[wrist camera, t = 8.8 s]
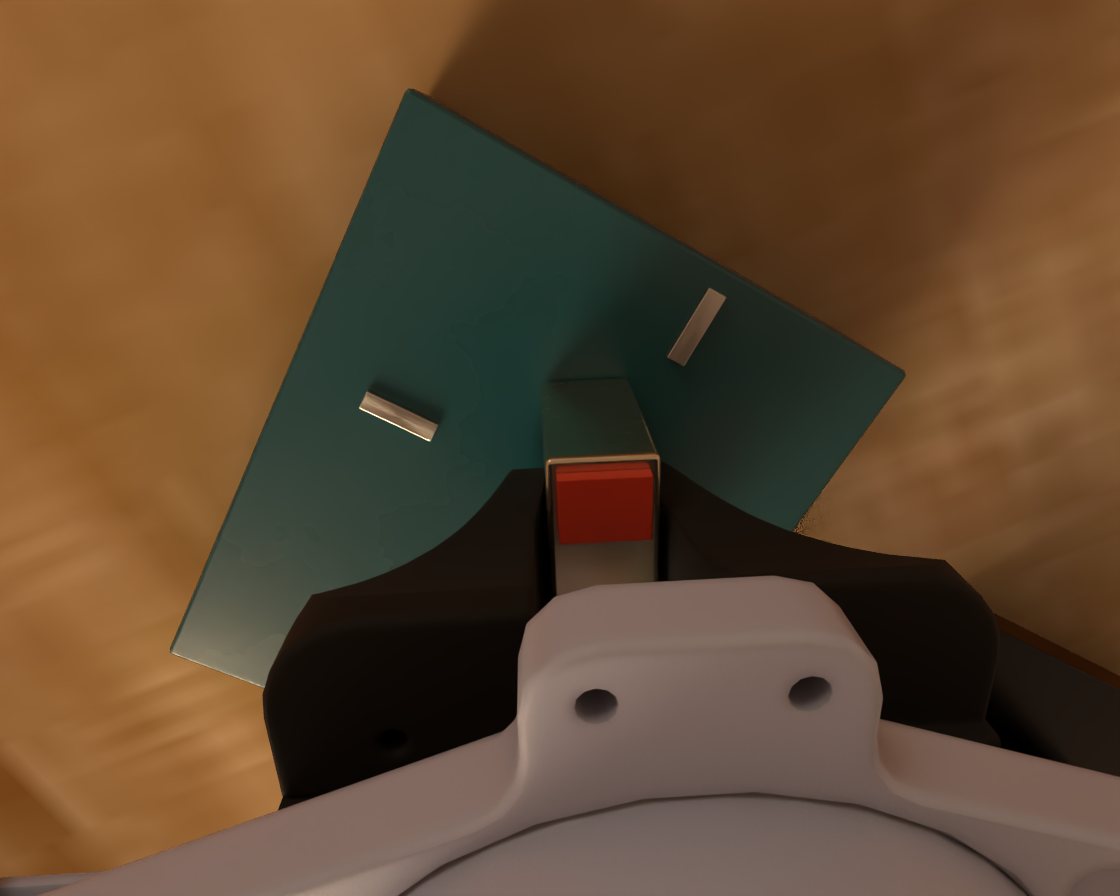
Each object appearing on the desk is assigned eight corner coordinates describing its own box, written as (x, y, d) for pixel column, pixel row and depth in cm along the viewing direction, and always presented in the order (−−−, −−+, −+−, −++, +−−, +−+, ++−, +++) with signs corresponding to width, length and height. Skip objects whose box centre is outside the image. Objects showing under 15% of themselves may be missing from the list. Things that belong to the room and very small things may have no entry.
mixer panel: (602, 741, 20) (613, 824, 18) (213, 586, 18) (163, 659, 15) (877, 352, 16) (939, 391, 14) (426, 94, 14) (405, 84, 12)
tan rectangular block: (628, 610, 15) (659, 750, 12) (551, 614, 15) (558, 756, 12) (628, 376, 14) (665, 461, 10) (539, 380, 14) (544, 467, 10)
